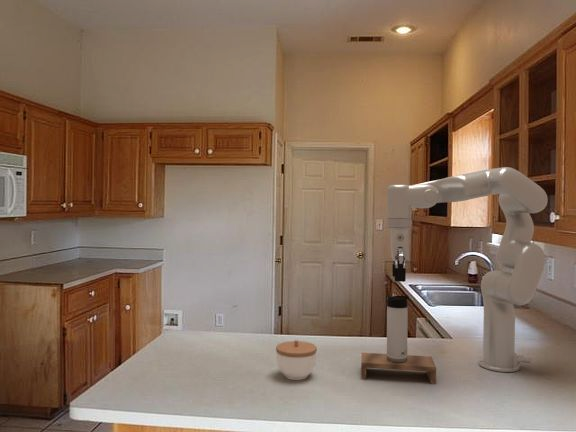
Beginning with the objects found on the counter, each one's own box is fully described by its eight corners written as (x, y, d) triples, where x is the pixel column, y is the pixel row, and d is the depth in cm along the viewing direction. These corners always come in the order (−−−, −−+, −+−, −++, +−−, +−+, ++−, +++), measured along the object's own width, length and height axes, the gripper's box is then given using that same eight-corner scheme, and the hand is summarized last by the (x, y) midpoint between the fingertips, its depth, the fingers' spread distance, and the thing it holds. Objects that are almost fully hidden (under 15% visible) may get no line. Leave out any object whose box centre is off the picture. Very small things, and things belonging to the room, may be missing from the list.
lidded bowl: (287, 386, 134) (287, 348, 133) (269, 372, 145) (269, 338, 145) (324, 379, 139) (324, 343, 139) (303, 366, 151) (304, 333, 150)
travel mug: (409, 363, 139) (409, 298, 139) (386, 362, 140) (387, 297, 140) (407, 357, 145) (408, 294, 145) (386, 355, 147) (387, 293, 146)
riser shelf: (431, 372, 146) (431, 356, 146) (435, 383, 136) (436, 367, 136) (361, 367, 150) (361, 352, 150) (361, 378, 140) (361, 362, 140)
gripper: (414, 225, 133) (414, 283, 134) (408, 223, 151) (408, 275, 151) (388, 225, 135) (388, 283, 135) (385, 223, 152) (385, 274, 152)
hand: (398, 278), depth 143 cm, fingers open, 9 cm apart
